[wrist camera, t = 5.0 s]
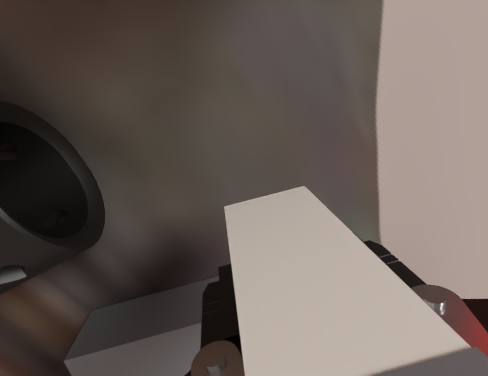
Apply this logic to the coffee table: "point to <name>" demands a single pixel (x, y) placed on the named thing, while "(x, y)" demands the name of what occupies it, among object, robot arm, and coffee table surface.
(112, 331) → the socket
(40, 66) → the coffee table surface
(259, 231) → the plug
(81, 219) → the muzzle brake
